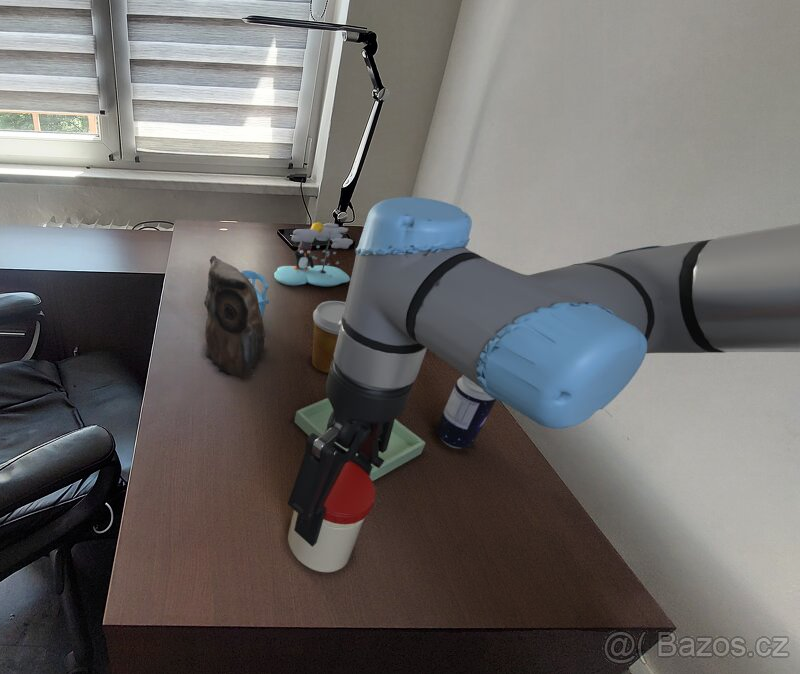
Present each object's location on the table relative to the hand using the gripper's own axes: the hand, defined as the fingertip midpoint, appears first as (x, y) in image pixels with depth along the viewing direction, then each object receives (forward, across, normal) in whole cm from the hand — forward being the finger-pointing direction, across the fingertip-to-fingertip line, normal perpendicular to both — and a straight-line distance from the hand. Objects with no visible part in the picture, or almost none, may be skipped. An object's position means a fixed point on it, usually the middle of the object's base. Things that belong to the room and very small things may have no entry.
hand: (328, 515), depth 56 cm
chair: (+6, -30, -44) cm, 53 cm away
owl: (+6, -19, -35) cm, 41 cm away
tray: (+6, -20, -8) cm, 22 cm away
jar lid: (-6, 0, 0) cm, 6 cm away
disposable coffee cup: (+6, -32, -23) cm, 40 cm away
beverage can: (+6, -32, +2) cm, 33 cm away
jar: (+6, 0, 0) cm, 6 cm away
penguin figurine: (+6, -59, -49) cm, 77 cm away
